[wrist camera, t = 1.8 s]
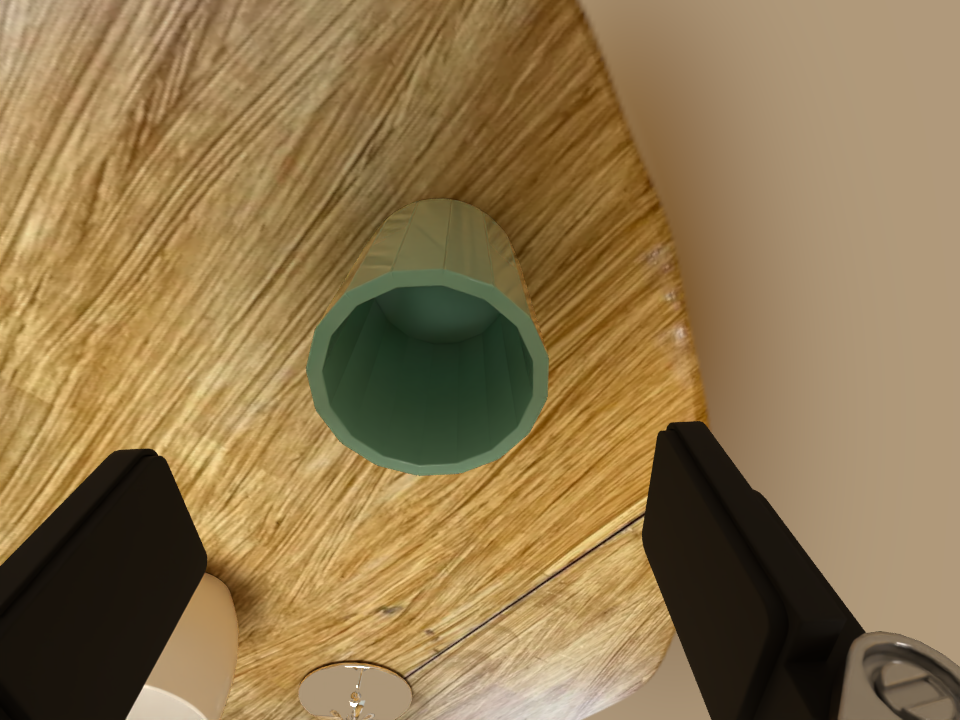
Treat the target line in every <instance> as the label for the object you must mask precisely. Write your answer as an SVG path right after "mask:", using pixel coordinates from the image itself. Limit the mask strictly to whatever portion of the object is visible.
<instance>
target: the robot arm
mask: <svg viewBox="0 0 960 720" xmlns="http://www.w3.org/2000/svg"><path fill="white" fill-rule="evenodd" d="M642 541H643V546H644V550H645V553H646V555H647V558H648V561H649V563H650V566H651V568H652V571H653V573H654V576H655V578H656V581H657V583H658V586H659V588H660V591H661V593H662V596H663V598H664V601H665V604H666V606H667V609H668V611H669V614H670V616H671V619H672V621H673V624H674V626H675V629H676V631H677V634H678V636H679V639H680V641H681V644H682V646H683V649H684V652H685V654H686V657H687V659H688V662H689V664H690V667H691V669H692V672H693V674H694V677H695V679H696V682H697V684H698V687H699V689H700V692H701V694H702V697H703V699H704V702H705V705H706V707H707V710H708V712H709V715H710V717H711V719H712V720H960V667H959V666H958V665H956V664H955V663H954V662H953V661H951V660H950V659H949V658H947V657H946V656H945V655H943V654H942V653H940V652H938V651H936V650H935V649H933V648H931V647H929V646H927V645H926V644H924V643H922V642H920V641H917V640H915V639H912V638H909V637H906V636H903V635H901V634H896V633H889V632H882V631H878V632H871V633H866V632H865V631H864V630H863V628H862V627H861V625H860V624H859V623H858V621H857V620H856V619H855V618H854V616H853V615H852V613H851V612H850V611H849V609H848V608H847V607H846V605H845V604H844V603H843V601H842V600H841V599H840V597H839V596H838V595H837V593H836V592H835V591H834V589H833V588H832V587H831V585H830V584H829V583H828V581H827V580H826V579H825V577H824V576H823V575H822V573H821V572H820V571H819V569H818V568H817V567H816V565H815V564H814V563H813V561H812V560H811V559H810V557H809V556H808V555H807V553H806V552H805V550H804V549H803V548H802V546H801V545H800V544H799V543H798V541H797V540H796V538H795V537H794V536H793V534H792V533H791V532H790V530H789V529H788V528H787V526H786V525H785V524H784V522H783V521H782V520H781V518H780V517H779V516H778V514H777V513H776V512H775V510H774V509H773V508H772V506H771V505H770V504H769V502H768V501H767V500H766V498H764V496H763V495H762V494H761V493H759V492H758V491H756V490H753V489H752V488H751V487H750V485H749V484H748V483H747V481H746V480H745V478H744V477H743V475H742V474H741V473H740V471H739V470H738V469H737V467H736V466H735V464H734V463H733V462H732V460H731V459H730V458H729V456H728V455H727V454H726V452H725V451H724V449H723V448H722V447H721V445H720V444H719V443H718V441H717V440H716V439H715V437H714V436H713V434H712V433H711V432H710V430H709V429H708V428H707V426H706V425H705V424H704V423H703V422H701V421H693V422H673V423H670V424H669V425H668V426H667V429H666V431H660V432H659V433H658V436H657V441H656V448H655V454H654V460H653V467H652V473H651V479H650V485H649V492H648V498H647V504H646V511H645V517H644V523H643V529H642ZM206 567H207V554H206V551H205V549H204V547H203V544H202V542H201V540H200V537H199V535H198V533H197V530H196V528H195V526H194V523H193V521H192V519H191V516H190V514H189V512H188V510H187V507H186V505H185V503H184V500H183V498H182V496H181V493H180V491H179V489H178V486H177V484H176V482H175V479H174V477H173V475H172V472H171V470H170V468H169V465H168V463H167V461H166V459H165V458H164V457H162V456H158V454H157V453H156V452H155V451H154V450H153V449H129V450H118V451H114V452H113V453H112V454H110V455H109V456H108V457H107V458H106V459H105V460H104V461H103V462H102V463H101V464H100V465H99V466H98V467H97V468H96V469H95V470H94V471H93V472H92V473H91V474H90V475H89V476H88V477H87V478H86V479H85V481H84V482H83V483H82V484H81V485H80V486H79V487H78V488H77V489H76V490H75V491H74V492H73V493H72V494H71V495H70V496H69V497H68V498H67V499H66V500H65V501H64V502H63V503H62V504H61V505H60V506H59V507H58V508H57V509H56V510H55V511H54V512H53V513H52V514H51V515H50V516H49V517H48V518H47V519H46V520H45V521H44V522H43V523H42V524H41V525H40V526H39V527H38V528H37V529H36V530H35V531H34V532H33V533H32V534H31V536H30V537H29V538H28V539H27V540H26V541H25V542H24V543H23V544H22V545H21V546H20V547H19V548H18V549H17V550H16V551H15V552H14V553H13V554H12V555H11V556H10V557H9V558H8V559H7V560H6V561H5V562H4V563H3V564H2V565H1V566H0V720H126V718H127V716H128V714H129V712H130V711H131V709H132V707H133V705H134V703H135V701H136V700H137V698H138V696H139V694H140V692H141V690H142V688H143V687H144V685H145V683H146V681H147V679H148V677H149V675H150V674H151V672H152V670H153V668H154V666H155V664H156V663H157V661H158V659H159V657H160V655H161V653H162V651H163V650H164V648H165V646H166V644H167V642H168V640H169V639H170V637H171V635H172V633H173V631H174V629H175V627H176V626H177V624H178V622H179V620H180V618H181V616H182V614H183V613H184V611H185V609H186V607H187V605H188V603H189V602H190V600H191V598H192V596H193V594H194V592H195V590H196V589H197V587H198V585H199V583H200V581H201V579H202V577H203V576H204V573H205V571H206Z"/></svg>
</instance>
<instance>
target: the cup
mask: <svg viewBox="0 0 960 720" xmlns="http://www.w3.org/2000/svg"><path fill="white" fill-rule="evenodd" d="M238 646H239V634H238V622H237V615H236V611H235V607H234V603H233V600H232V596H231V593H230V591H229V589H228V587H227V586H226V585H225V584H224V583H223V582H222V581H221V580H219V579H218V578H216V577H214V576H213V575H210V574H208V573H204V576H203V577H202V579H201V581H200V583H199V585H198V587H197V589H196V590H195V592H194V594H193V596H192V598H191V600H190V602H189V603H188V605H187V607H186V609H185V611H184V613H183V614H182V616H181V618H180V620H179V622H178V624H177V626H176V627H175V629H174V631H173V633H172V635H171V637H170V639H169V640H168V642H167V644H166V646H165V648H164V650H163V651H162V653H161V655H160V657H159V659H158V661H157V663H156V664H155V666H154V668H153V670H152V672H151V674H150V675H149V677H148V679H147V681H146V683H145V685H144V687H143V688H142V690H141V692H140V694H139V696H138V698H137V700H136V701H135V703H134V705H133V707H132V709H131V711H130V712H129V714H128V716H127V718H126V720H220V719H221V717H222V714H223V711H224V708H225V706H226V703H227V700H228V697H229V694H230V690H231V687H232V683H233V679H234V675H235V671H236V665H237V658H238Z"/></svg>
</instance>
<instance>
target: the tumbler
mask: <svg viewBox="0 0 960 720" xmlns="http://www.w3.org/2000/svg"><path fill="white" fill-rule="evenodd" d="M306 373H307V377H308V381H309V385H310V389H311V393H312V398H313V402H314V406H315V409H316V411H317V412H318V414H319V415H320V416H321V418H322V419H323V420H324V422H325V423H326V424H327V425H328V427H329V428H330V429H331V431H332V432H333V433H334V435H335V436H336V437H337V439H338V440H339V441H340V442H341V443H342V444H343V445H345V446H347V447H348V448H350V449H351V450H353V451H355V452H356V453H358V454H359V455H361V456H362V457H364V458H366V459H367V460H369V461H370V462H372V463H374V464H375V465H378V466H381V467H385V468H389V469H393V470H397V471H401V472H405V473H408V474H412V475H418V476H425V475H445V474H459V473H464V472H466V471H469V470H472V469H474V468H477V467H480V466H482V465H485V464H488V463H490V462H493V461H496V460H498V458H501V457H502V456H503V455H504V454H506V453H507V452H508V451H509V450H510V449H512V448H513V447H514V446H515V445H516V444H517V443H519V442H520V441H521V440H522V439H523V438H525V437H526V436H527V435H528V434H529V433H530V431H531V429H532V427H533V425H534V423H535V422H536V420H537V418H538V416H539V414H540V412H541V410H542V408H543V406H544V404H545V402H546V400H547V397H548V373H549V358H548V353H547V350H546V347H545V344H544V340H543V337H542V334H541V331H540V327H539V324H538V321H537V318H536V315H535V311H534V308H533V305H532V302H531V298H530V295H529V292H528V289H527V286H526V282H525V279H524V276H523V273H522V270H521V266H520V263H519V261H518V258H517V256H516V254H515V251H514V248H513V246H512V244H511V242H510V240H509V238H508V236H507V235H506V233H505V232H504V230H503V229H502V228H501V226H500V225H499V224H498V223H497V222H496V221H495V220H494V219H493V218H491V217H490V216H489V215H488V214H487V213H485V212H483V211H482V210H480V209H478V208H477V207H474V206H472V205H470V204H468V203H465V202H461V201H458V200H452V199H443V198H434V199H425V200H421V201H417V202H414V203H411V204H409V205H406V206H404V207H402V208H401V209H399V210H397V211H395V212H394V213H393V214H392V215H390V216H389V217H388V218H387V219H386V220H385V221H384V222H383V223H382V224H381V225H380V226H379V228H378V229H377V230H376V232H375V233H374V235H373V236H372V237H371V238H370V239H369V241H368V242H367V244H366V246H365V247H364V249H363V250H362V252H361V254H360V255H359V257H358V259H357V260H356V262H355V264H354V265H353V267H352V269H351V270H350V272H349V273H348V275H347V277H346V278H345V280H344V282H343V283H342V285H341V287H340V288H339V290H338V292H337V293H336V295H335V296H334V298H333V300H332V301H331V303H330V305H329V306H328V308H327V310H326V311H325V313H324V315H323V316H322V318H321V319H320V321H319V323H318V324H317V326H316V328H315V331H314V335H313V339H312V344H311V348H310V352H309V356H308V361H307V365H306Z"/></svg>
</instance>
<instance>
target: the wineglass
mask: <svg viewBox="0 0 960 720" xmlns="http://www.w3.org/2000/svg"><path fill="white" fill-rule="evenodd" d="M298 697H299V701H300V703H301V704H302V706H303V707H304V709H305V710H307V711H308V712H309V713H310V714H311V715H313V716H315V717H316V718H318V719H321V720H395V719H397V718H398V717H400V716H402V715H403V714H404V713H405V712H406V711H407V710H408V708H409V706H410V705H411V702H412V690H411V688H410V686H409V684H408V683H407V682H406V681H405V680H404V679H403V678H402V677H400V676H399V675H398V674H396V673H394V672H392V671H390V670H388V669H386V668H383V667H380V666H377V665H372V664H367V663H356V662H352V663H338V664H332V665H328V666H324V667H321V668H319V669H317V670H315V671H313V672H311V673H310V674H309V675H307V676H306V677H305V678H304V679H303V680H302V682H301V684H300V686H299V688H298Z"/></svg>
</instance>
